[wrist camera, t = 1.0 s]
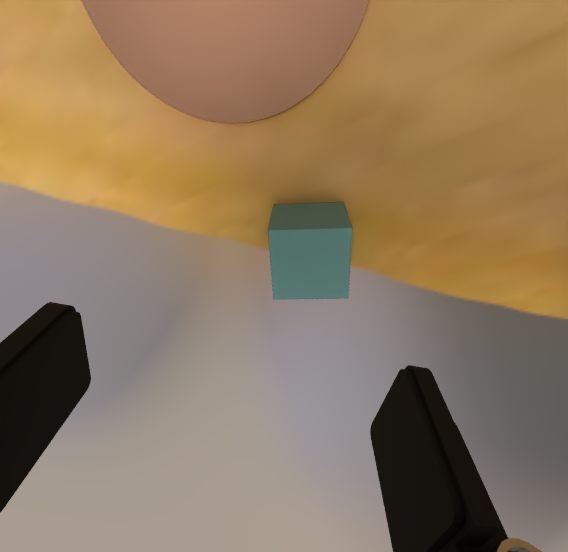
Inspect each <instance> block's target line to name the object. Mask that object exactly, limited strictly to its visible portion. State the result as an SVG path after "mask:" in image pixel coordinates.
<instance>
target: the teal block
mask: <svg viewBox="0 0 568 552" xmlns="http://www.w3.org/2000/svg"><path fill="white" fill-rule="evenodd" d="M268 238H269V251H270V263H271V275H272V287H273V299H337V298H338V299H339V298H348V295H349V277H350V261H351V243H352V225H351V223H350V220H349V217H348V214H347V211H346V208H345V205H344V202H325V203H296V204H274V206H273V211H272V215H271V219H270V223H269V228H268Z"/></svg>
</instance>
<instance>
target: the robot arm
mask: <svg viewBox="0 0 568 552" xmlns="http://www.w3.org/2000/svg"><path fill="white" fill-rule="evenodd" d="M90 381H91V375H90V369H89V363H88V357H87V351H86V345H85V339H84V332H83V326H82V321H81V315H80V313H78V312H76V310H75V308H74V307H73V306H70V305H64V304H58V303H52V302H50V303H47V304H45V305H44V306H43V307H42V308H41V309H39V310H38V311H37V312H36V313H35V314H34V315H32V316H31V317H30V318H29V319H28V320H27V321H25V322H24V323H23V324H22V325H21V326H20V327H18V329H16V330H15V331H14V332H13V333H11V334H10V335H9V336H8V337H7V338H6V339H4V340H3V341H2V342H1V343H0V512H1V511H2V510H3V508H4V507H5V506H6V504H7V503H8V501H9V500H10V499H11V497H12V496H13V494H14V493H15V491H16V490H17V489H18V487H19V486H20V485H21V483H22V482H23V480H24V478H25V477H26V476H27V474H28V473H29V472H30V470H31V469H32V467H33V466H34V464H35V463H36V462H37V460H38V459H39V457H40V456H41V455H42V453H43V452H44V450H45V449H46V448H47V446H48V445H49V443H50V442H51V440H52V439H53V438H54V436H55V434H56V433H57V432H58V430H59V429H60V428H61V426H62V425H63V423H64V422H65V421H66V419H67V418H68V416H69V415H70V413H71V412H72V410H73V409H74V408H75V406H76V405H77V403H78V402H79V401H80V399H81V398H82V396H83V395H84V394H85V392H86V391H87V389H88V387H89V384H90ZM371 440H372V445H373V450H374V456H375V461H376V466H377V471H378V476H379V481H380V486H381V491H382V497H383V502H384V507H385V512H386V517H387V522H388V527H389V533H390V537H391V543H392V548H393V552H541V551H540V550H539V549H537V548H535V547H534V546H533V545H531V544H530V543H528V542H525V541H523V540H520V539H513V538H508V537H507V535H506V533H505V530H504V528H503V526H502V524H501V522H500V520H499V517H498V515H497V513H496V511H495V508H494V506H493V504H492V502H491V500H490V498H489V495H488V493H487V491H486V488H485V486H484V484H483V482H482V480H481V477H480V475H479V473H478V471H477V469H476V466H475V464H474V462H473V460H472V458H471V455H470V454H469V451H468V449H467V447H466V445H465V442H464V440H463V438H462V436H461V434H460V431H459V429H458V427H457V425H456V424H455V423H454V421H453V419H452V417H451V414H450V412H449V410H448V408H447V405H446V403H445V401H444V399H443V397H442V394H441V392H440V390H439V388H438V385H437V383H436V381H435V379H434V376H433V374H432V372H431V371H430V370H429V369H427V368H421V367H416V366H407V367H406V368H405V370H404V369H401V370H400V371H399V373H398V375H397V377H396V379H395V380H394V382H393V384H392V386H391V388H390V390H389V392H388V394H387V396H386V398H385V400H384V402H383V404H382V405H381V407H380V409H379V411H378V413H377V415H376V417H375V419H374V421H373V422H372V425H371Z"/></svg>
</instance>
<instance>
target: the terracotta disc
mask: <svg viewBox="0 0 568 552" xmlns="http://www.w3.org/2000/svg"><path fill="white" fill-rule="evenodd" d="M81 1H82V3H83V5H84V7H85V9H86V11H87V13H88V15H89V17H90V19H91V21H92V23H93V25H94V26H95V28H96V30H97V31H98V33H99V35H100V36H101V38H102V40H103V41H104V43H105V44H106V46H107V47H108V48H109V50H110V51H111V52H112V54H113V55H114V56H115V58H116V59H117V60H118V62H119V63H120V64H121V65H122V66H123V67H124V68H125V69H126V71H127V72H128V73H129V74H130V75H131V76H132V77H133V78H134V79H135V80H136V81H137V82H138V83H140V84H141V85H142V86H143V87H144V88H145V89H146V90H148V91H149V92H150V93H151V94H153V95H154V96H156V97H157V98H159V99H160V100H161V101H163V102H164V103H166V104H168V105H170V106H172V107H174V108H175V109H177V110H179V111H181V112H184V113H186V114H189V115H192V116H194V117H197V118H201V119H205V120H209V121H214V122H224V123H242V122H251V121H256V120H260V119H265V118H267V117H270V116H273V115H276V114H278V113H281V112H283V111H284V110H286V109H288V108H290V107H292V106H294V105H296V104H297V103H298V102H300V101H301V100H302V99H304V98H305V97H307V96H308V95H309V94H311V93H312V92H313V91H314V90H315V89H316V88H317V87H318V86H319V85H320V84H321V83H322V82H323V81H324V80H325V79H326V78H327V77H328V75H329V74H330V73H331V72H332V71H333V69H334V68H335V67H336V66H337V64H338V63H339V61H340V60H341V58H342V57H343V55H344V54H345V52H346V51H347V49H348V47H349V46H350V44H351V42H352V40H353V38H354V36H355V34H356V32H357V30H358V28H359V26H360V23H361V21H362V18H363V16H364V13H365V10H366V8H367V5H368V2H369V0H81Z"/></svg>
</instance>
